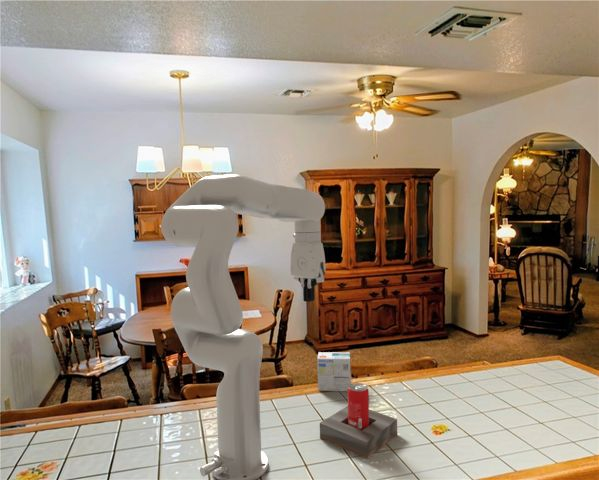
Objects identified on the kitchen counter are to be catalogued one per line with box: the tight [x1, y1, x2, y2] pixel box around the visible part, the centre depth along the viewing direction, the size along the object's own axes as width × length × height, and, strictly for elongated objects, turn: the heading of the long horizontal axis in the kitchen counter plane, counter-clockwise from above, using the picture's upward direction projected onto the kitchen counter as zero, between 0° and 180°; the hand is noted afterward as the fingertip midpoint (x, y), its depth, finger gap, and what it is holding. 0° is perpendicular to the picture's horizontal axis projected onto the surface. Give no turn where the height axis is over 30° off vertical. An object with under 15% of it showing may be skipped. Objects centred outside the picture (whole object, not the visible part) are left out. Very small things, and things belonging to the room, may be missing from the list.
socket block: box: [319, 405, 398, 459], centre depth 109 cm, size 14×14×4 cm
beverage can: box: [347, 382, 370, 430], centre depth 108 cm, size 5×5×12 cm
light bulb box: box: [316, 351, 352, 392], centre depth 139 cm, size 11×7×11 cm, turn 84°
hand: (309, 300), depth 125 cm, fingers closed
